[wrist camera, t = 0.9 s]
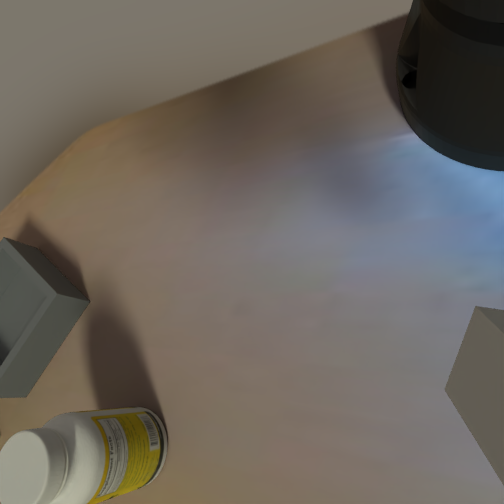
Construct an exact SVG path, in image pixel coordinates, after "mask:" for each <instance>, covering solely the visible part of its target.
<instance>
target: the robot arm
mask: <svg viewBox="0 0 504 504" xmlns="http://www.w3.org/2000/svg"><path fill="white" fill-rule="evenodd" d="M396 78H397V85H398V91H399V98H400V103H401V107H402V110H403V112H404V115H405V117H406V119H407V121H408V123H409V124H410V126H411V127H412V129H413V130H414V131H415V133H416V134H417V135H418V136H419V137H420V138H421V139H422V140H423V141H424V142H425V143H426V144H428V145H429V146H430V147H432V148H433V149H434V150H436V151H437V152H439V153H441V154H442V155H444V156H446V157H448V158H450V159H453V160H455V161H458V162H460V163H463V164H466V165H470V166H473V167H477V168H482V169H488V170H495V171H504V0H413V3H412V6H411V9H410V12H409V16H408V19H407V22H406V25H405V28H404V32H403V35H402V38H401V41H400V45H399V49H398V54H397V63H396ZM445 391H446V393H447V394H448V396H449V398H450V399H451V401H452V402H453V404H454V406H455V407H456V409H457V411H458V412H459V414H460V415H461V417H462V419H463V420H464V422H465V423H466V425H467V427H468V428H469V430H470V432H471V433H472V435H473V436H474V438H475V440H476V441H477V443H478V445H479V446H480V448H481V449H482V451H483V453H484V454H485V456H486V457H487V459H488V461H489V462H490V464H491V466H492V467H493V469H494V470H495V472H496V474H497V475H498V477H499V479H500V480H501V482H502V483H503V485H504V310H498V309H491V308H484V307H478V306H475V309H474V312H473V314H472V317H471V320H470V323H469V325H468V328H467V331H466V333H465V336H464V339H463V341H462V344H461V347H460V349H459V352H458V355H457V357H456V360H455V363H454V366H453V368H452V371H451V374H450V376H449V379H448V382H447V384H446V387H445Z"/></svg>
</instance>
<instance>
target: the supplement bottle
mask: <svg viewBox="0 0 504 504" xmlns="http://www.w3.org/2000/svg"><path fill="white" fill-rule="evenodd" d="M166 455H167V435H166V431H165V428H164V426H163V424H162V422H161V420H160V419H159V417H158V416H157V415H156V414H155V413H153V412H152V411H150V410H149V409H146V408H142V407H129V408H116V409H104V410H92V411H80V412H70V413H64V414H60V415H58V416H56V417H54V418H52V419H51V420H49V421H48V422H47V423H46V424H45V425H44V426H43V427H42V428H37V429H29V430H23V431H20V432H18V433H16V434H14V435H13V436H12V437H11V438H9V440H8V441H7V442H6V443H5V445H4V446H3V448H2V450H1V452H0V502H1V504H96V503H99V502H102V501H105V500H108V499H111V498H113V497H116V496H119V495H122V494H125V493H128V492H130V491H133V490H136V489H139V488H141V487H143V486H146V485H147V484H149V483H150V482H152V481H153V480H154V479H155V478H156V477H157V475H158V474H159V473H160V471H161V469H162V467H163V465H164V462H165V459H166Z"/></svg>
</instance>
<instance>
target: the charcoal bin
mask: <svg viewBox="0 0 504 504" xmlns="http://www.w3.org/2000/svg"><path fill="white" fill-rule="evenodd" d="M89 302H90V301H89V300H88V299H87V298H86V297H85V296H84V295H83V294H82V293H81V292H80V291H79V290H78V289H77V288H76V287H75V286H74V285H73V284H72V283H71V282H70V281H69V280H68V279H67V278H66V277H65V276H64V275H63V274H62V273H61V272H60V271H59V270H58V269H57V268H56V267H55V266H54V265H53V264H52V263H51V262H50V261H49V260H48V259H47V258H46V257H45V256H44V255H43V254H42V253H41V252H40V251H39V250H38V249H37V248H35V247H32V246H29V245H26V244H23V243H20V242H17V241H14V240H11V239H8V238H5V237H3V239H2V240H1V242H0V398H15V397H27V395H28V394H29V392H30V391H31V389H32V388H33V386H34V385H35V383H36V382H37V380H38V379H39V377H40V376H41V374H42V373H43V371H44V370H45V368H46V367H47V365H48V364H49V362H50V361H51V359H52V358H53V356H54V355H55V353H56V352H57V350H58V349H59V347H60V346H61V344H62V343H63V341H64V340H65V338H66V337H67V335H68V334H69V332H70V331H71V329H72V328H73V326H74V325H75V323H76V322H77V320H78V319H79V317H80V316H81V314H82V313H83V311H84V310H85V308H86V307H87V305H88V304H89Z"/></svg>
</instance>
